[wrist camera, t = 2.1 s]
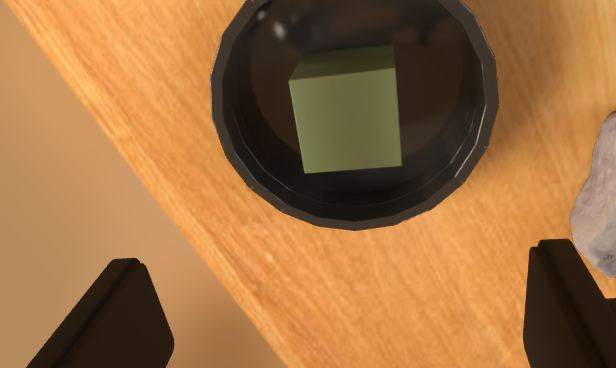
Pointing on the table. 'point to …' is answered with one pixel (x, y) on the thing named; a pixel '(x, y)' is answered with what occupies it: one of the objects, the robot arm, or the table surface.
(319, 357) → the table surface
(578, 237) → the stone block
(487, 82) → the pan
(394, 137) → the block
